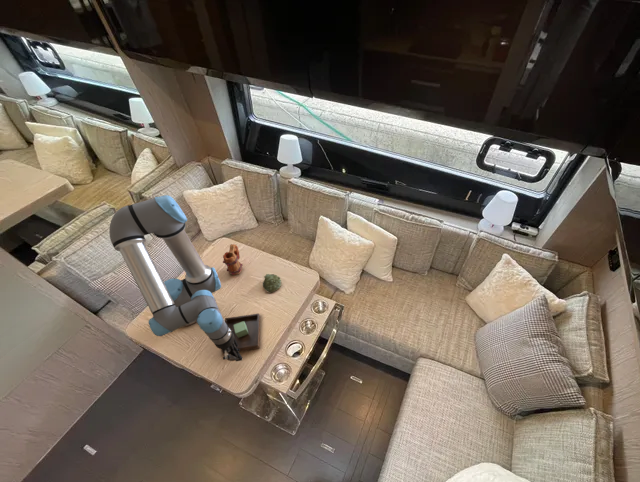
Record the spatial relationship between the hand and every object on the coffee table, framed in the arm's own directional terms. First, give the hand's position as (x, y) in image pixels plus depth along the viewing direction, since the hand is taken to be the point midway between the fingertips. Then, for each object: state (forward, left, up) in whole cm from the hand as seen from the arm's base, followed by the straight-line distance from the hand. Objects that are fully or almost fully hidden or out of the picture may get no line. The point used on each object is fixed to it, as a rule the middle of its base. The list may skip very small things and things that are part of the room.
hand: (239, 359), depth 127 cm
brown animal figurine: (-6, +59, -3) cm, 59 cm away
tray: (0, +14, -2) cm, 14 cm away
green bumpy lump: (+14, +43, -3) cm, 45 cm away
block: (0, +15, -2) cm, 15 cm away
